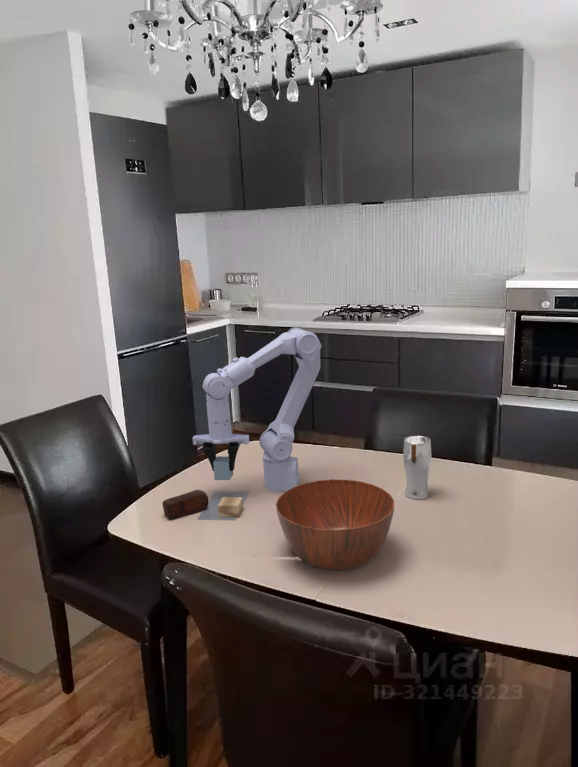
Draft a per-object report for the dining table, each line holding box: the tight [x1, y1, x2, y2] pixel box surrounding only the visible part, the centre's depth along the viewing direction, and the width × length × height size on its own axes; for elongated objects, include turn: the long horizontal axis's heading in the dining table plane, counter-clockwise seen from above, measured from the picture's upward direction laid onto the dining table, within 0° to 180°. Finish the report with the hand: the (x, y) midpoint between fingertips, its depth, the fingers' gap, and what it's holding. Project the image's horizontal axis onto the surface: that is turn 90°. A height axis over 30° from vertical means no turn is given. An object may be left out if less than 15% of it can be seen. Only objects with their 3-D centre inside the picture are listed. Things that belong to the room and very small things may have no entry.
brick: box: [161, 489, 209, 521], centre depth 150 cm, size 11×4×5 cm, turn 122°
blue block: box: [213, 455, 234, 481], centre depth 157 cm, size 4×4×5 cm
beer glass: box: [402, 435, 432, 500], centre depth 154 cm, size 7×7×15 cm
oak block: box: [218, 497, 244, 518], centre depth 148 cm, size 5×5×3 cm
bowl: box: [275, 478, 395, 571], centre depth 128 cm, size 25×25×11 cm
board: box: [197, 490, 250, 521], centre depth 153 cm, size 10×17×1 cm, turn 172°
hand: (223, 469), depth 157 cm, fingers closed on blue block, 4 cm apart
